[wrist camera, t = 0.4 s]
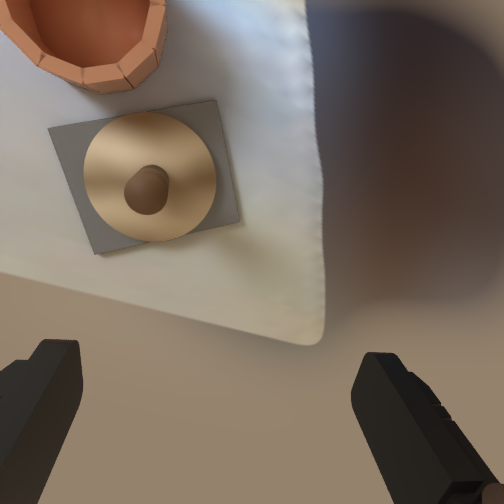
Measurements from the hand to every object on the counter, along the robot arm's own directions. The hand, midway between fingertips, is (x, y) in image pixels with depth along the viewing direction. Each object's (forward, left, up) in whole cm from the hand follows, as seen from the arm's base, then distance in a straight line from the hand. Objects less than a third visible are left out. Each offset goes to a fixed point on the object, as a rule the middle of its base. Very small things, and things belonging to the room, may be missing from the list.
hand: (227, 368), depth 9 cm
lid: (-3, -3, -26) cm, 26 cm away
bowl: (-16, -4, -26) cm, 31 cm away
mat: (-3, -3, -26) cm, 27 cm away
